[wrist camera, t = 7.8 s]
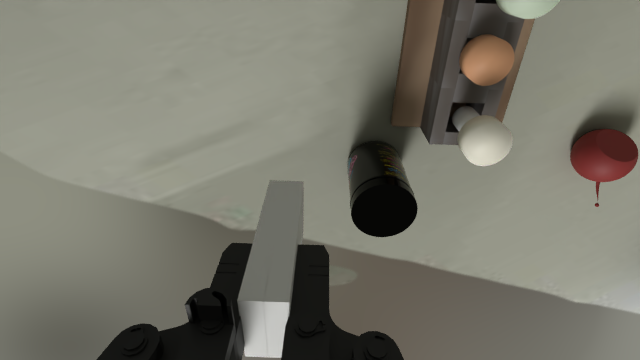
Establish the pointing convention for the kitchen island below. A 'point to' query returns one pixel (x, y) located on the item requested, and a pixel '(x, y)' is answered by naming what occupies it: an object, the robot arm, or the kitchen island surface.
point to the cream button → (481, 136)
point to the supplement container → (379, 190)
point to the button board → (451, 64)
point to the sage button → (527, 7)
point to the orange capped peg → (486, 59)
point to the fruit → (604, 156)
